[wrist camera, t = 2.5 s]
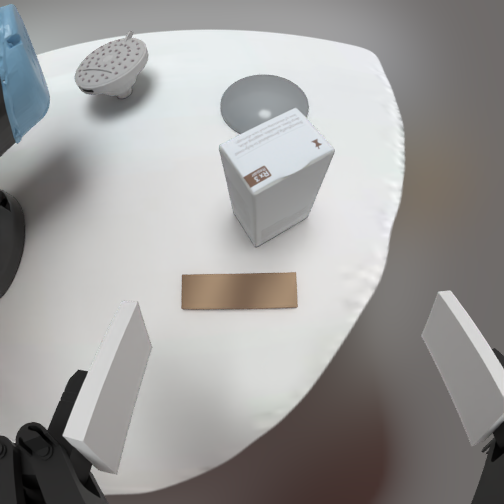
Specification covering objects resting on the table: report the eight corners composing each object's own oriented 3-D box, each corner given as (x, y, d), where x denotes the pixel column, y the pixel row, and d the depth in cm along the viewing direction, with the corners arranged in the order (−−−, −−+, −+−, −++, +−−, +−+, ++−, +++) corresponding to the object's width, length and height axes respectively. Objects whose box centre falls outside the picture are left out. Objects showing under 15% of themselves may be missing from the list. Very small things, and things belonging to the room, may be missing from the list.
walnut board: (183, 309, 27) (181, 308, 26) (184, 276, 28) (182, 274, 27) (296, 307, 27) (297, 306, 26) (294, 274, 28) (295, 272, 27)
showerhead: (161, 30, 28) (111, 85, 26) (173, 70, 35) (132, 125, 33) (105, 29, 29) (57, 80, 27) (120, 65, 36) (80, 114, 34)
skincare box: (284, 183, 30) (296, 100, 19) (310, 219, 29) (340, 147, 17) (229, 214, 29) (213, 139, 18) (255, 253, 28) (253, 194, 17)
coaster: (219, 140, 32) (219, 137, 31) (222, 79, 34) (222, 76, 34) (312, 139, 32) (313, 136, 31) (302, 78, 34) (303, 75, 34)
